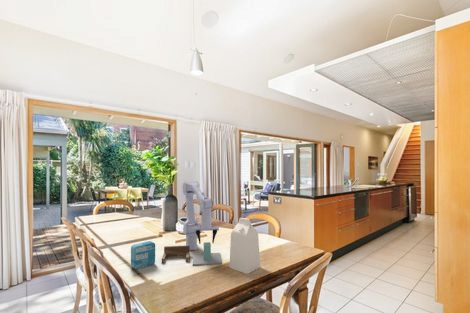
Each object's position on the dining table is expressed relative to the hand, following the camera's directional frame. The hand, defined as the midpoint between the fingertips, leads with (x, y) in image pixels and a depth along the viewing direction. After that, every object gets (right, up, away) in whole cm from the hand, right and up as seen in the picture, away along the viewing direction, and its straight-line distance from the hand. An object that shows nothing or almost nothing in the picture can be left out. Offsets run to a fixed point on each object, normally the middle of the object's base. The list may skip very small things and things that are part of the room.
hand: (206, 243), depth 145 cm
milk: (+22, -9, -12) cm, 27 cm away
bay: (-18, -9, 0) cm, 20 cm away
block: (0, -9, 0) cm, 9 cm away
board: (0, -9, -1) cm, 9 cm away
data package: (-34, -10, -9) cm, 36 cm away
